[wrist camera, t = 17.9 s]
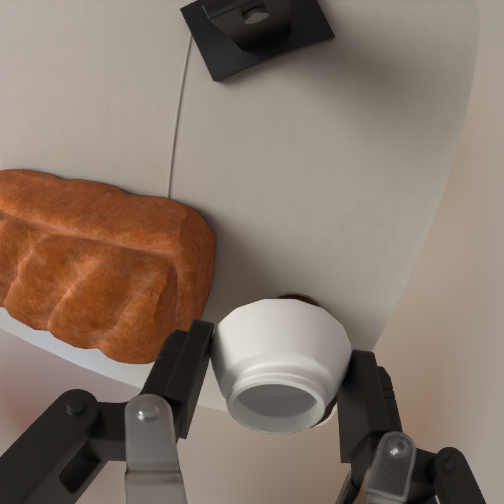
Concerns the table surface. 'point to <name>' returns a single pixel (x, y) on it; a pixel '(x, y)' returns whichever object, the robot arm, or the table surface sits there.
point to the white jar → (279, 364)
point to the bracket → (253, 31)
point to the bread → (101, 263)
